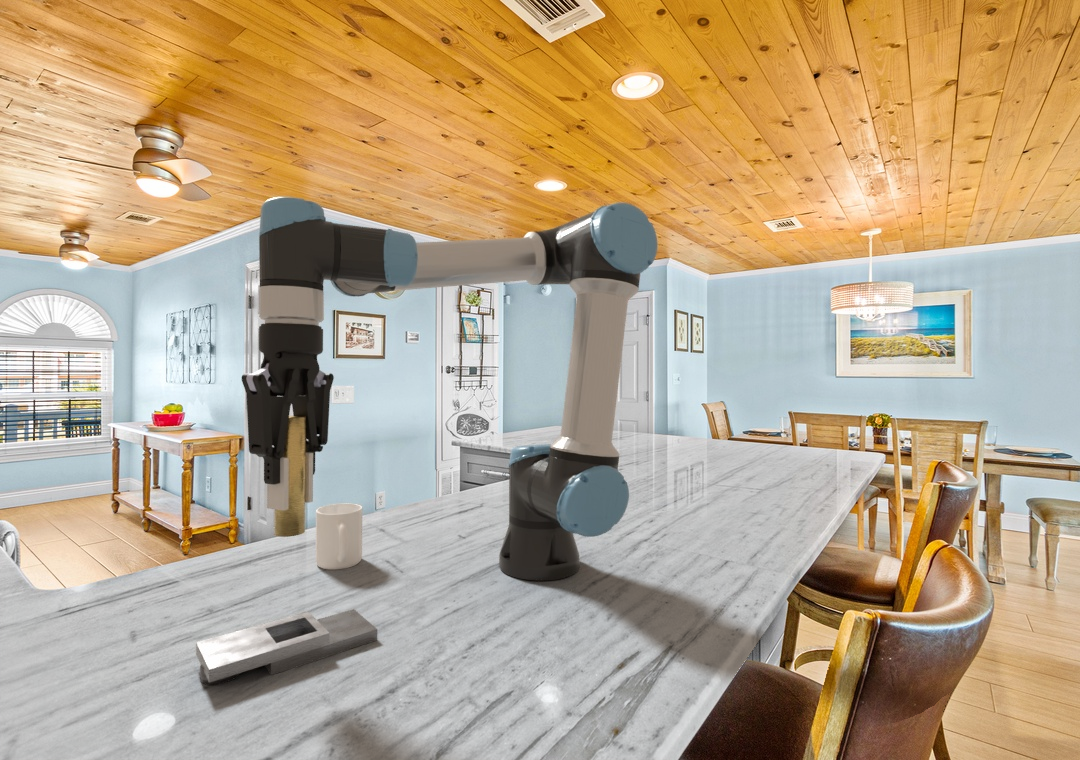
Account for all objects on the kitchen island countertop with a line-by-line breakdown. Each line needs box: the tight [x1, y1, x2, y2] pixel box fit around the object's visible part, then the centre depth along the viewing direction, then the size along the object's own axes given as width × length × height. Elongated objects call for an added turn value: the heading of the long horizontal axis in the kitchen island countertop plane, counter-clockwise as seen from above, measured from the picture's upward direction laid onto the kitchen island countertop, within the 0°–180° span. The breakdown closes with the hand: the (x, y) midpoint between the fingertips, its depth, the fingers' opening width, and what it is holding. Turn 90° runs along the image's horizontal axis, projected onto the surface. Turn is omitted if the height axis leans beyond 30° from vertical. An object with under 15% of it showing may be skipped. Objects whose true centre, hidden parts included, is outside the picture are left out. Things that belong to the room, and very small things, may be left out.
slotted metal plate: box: [195, 608, 378, 686], centre depth 72 cm, size 20×8×3 cm, turn 131°
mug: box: [315, 502, 363, 571], centre depth 103 cm, size 12×8×10 cm
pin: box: [273, 415, 307, 538], centre depth 71 cm, size 4×4×15 cm
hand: (290, 504), depth 71 cm, fingers closed on pin, 4 cm apart
